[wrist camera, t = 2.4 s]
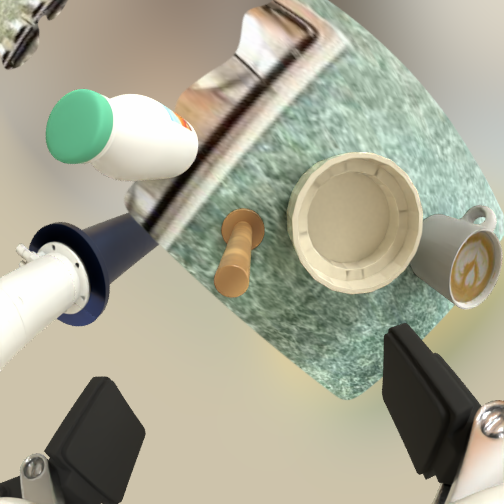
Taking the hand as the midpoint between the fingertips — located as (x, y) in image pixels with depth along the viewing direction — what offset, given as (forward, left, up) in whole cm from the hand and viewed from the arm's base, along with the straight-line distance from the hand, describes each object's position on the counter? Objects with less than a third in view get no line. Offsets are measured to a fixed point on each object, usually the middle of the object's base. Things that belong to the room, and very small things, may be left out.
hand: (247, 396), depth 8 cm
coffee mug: (+24, +14, -27) cm, 39 cm away
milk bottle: (-14, +4, -27) cm, 31 cm away
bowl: (+9, +8, -27) cm, 29 cm away
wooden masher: (-1, 0, -27) cm, 27 cm away
